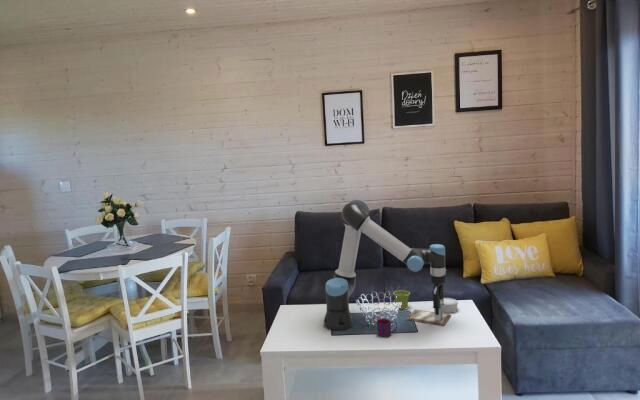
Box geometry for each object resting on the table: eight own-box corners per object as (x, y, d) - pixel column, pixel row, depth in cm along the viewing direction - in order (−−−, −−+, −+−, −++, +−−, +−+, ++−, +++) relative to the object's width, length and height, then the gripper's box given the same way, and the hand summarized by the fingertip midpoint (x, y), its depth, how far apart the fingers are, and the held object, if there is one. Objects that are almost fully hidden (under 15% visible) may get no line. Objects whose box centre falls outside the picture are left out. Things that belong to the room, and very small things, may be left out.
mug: (376, 332, 220) (376, 318, 219) (397, 331, 219) (396, 318, 218) (377, 337, 213) (377, 324, 212) (398, 337, 212) (398, 323, 212)
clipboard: (406, 320, 233) (405, 317, 233) (414, 310, 246) (414, 308, 246) (444, 325, 223) (444, 323, 223) (451, 315, 236) (451, 313, 236)
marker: (434, 319, 229) (434, 300, 228) (436, 317, 232) (435, 298, 230) (441, 320, 227) (440, 301, 226) (442, 318, 230) (442, 299, 229)
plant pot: (400, 303, 258) (399, 289, 257) (413, 307, 251) (413, 292, 250) (390, 308, 252) (389, 293, 251) (403, 312, 245) (403, 296, 244)
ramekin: (457, 307, 248) (457, 298, 248) (458, 314, 238) (458, 304, 237) (436, 306, 251) (436, 297, 251) (436, 313, 241) (436, 304, 240)
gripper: (441, 279, 218) (441, 325, 220) (449, 271, 232) (450, 314, 234) (426, 278, 221) (427, 323, 224) (435, 269, 236) (435, 312, 238)
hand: (438, 318), depth 229 cm, fingers closed on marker, 3 cm apart
